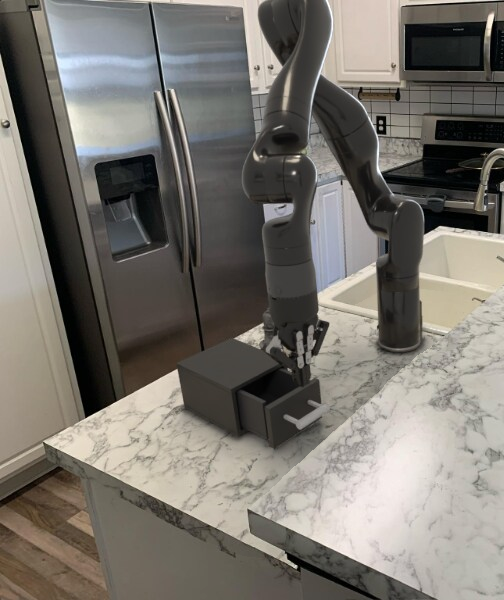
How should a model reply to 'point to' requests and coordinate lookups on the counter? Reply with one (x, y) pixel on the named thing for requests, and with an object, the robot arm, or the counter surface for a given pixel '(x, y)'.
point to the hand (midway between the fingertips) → (302, 384)
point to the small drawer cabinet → (222, 380)
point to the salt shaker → (267, 329)
